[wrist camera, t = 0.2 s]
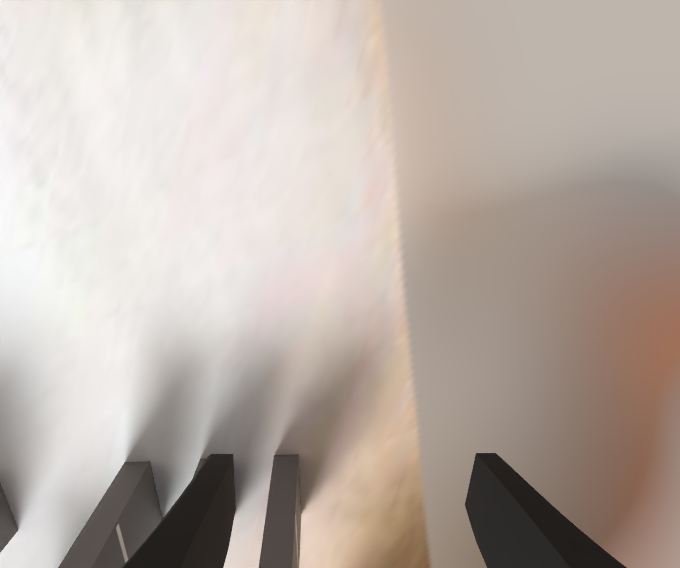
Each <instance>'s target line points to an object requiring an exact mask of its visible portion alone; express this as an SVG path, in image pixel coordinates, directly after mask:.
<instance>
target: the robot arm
mask: <svg viewBox="0 0 680 568" xmlns="http://www.w3.org/2000/svg"><path fill="white" fill-rule="evenodd" d="M465 506H466V510H467V513H468V516H469V520H470V523H471V526H472V529H473V532H474V536H475V539H476V542H477V544H478V547H479V549H480V552H481V554H482V556H483V558H484V561H485V563H486V566H487V568H626V567H625V566H624V565H622V564H621V563H620V562H618V561H617V560H616V559H615V558H613V557H612V556H611V555H610V554H608V553H607V552H606V551H604V550H603V549H602V548H601V547H600V546H599V545H597V544H596V543H595V542H594V541H592V540H591V539H590V538H589V537H588V536H587V535H585V534H584V533H583V532H582V531H580V530H579V529H578V528H577V527H576V526H575V525H574V524H572V523H571V522H570V521H569V520H568V519H567V518H566V517H564V516H563V515H562V514H561V513H560V512H559V511H558V510H557V509H555V508H554V507H553V506H552V505H551V504H550V503H549V502H548V501H547V500H546V499H545V498H543V497H542V496H541V495H540V494H539V493H538V492H537V491H536V490H535V489H534V488H533V487H532V486H530V485H529V484H528V483H527V482H526V481H525V480H524V479H523V478H522V477H521V476H520V475H519V474H518V473H517V472H515V471H514V470H513V469H512V468H511V467H510V466H509V465H508V464H507V463H506V462H505V461H503V459H502V458H500V457H499V456H498V455H497V454H496V453H477V454H476V456H475V461H474V465H473V470H472V475H471V479H470V484H469V489H468V494H467V498H466V503H465ZM234 514H235V488H234V467H233V454H211V455H210V456H209V457H207V459H206V460H205V462H204V463H203V465H202V466H201V468H200V469H199V471H198V472H197V474H196V475H195V477H194V478H193V479H192V481H191V482H190V484H189V485H188V486H187V488H186V489H185V490H184V492H183V493H182V495H181V496H180V497H179V499H178V500H177V501H176V502H175V504H174V505H173V506H172V508H171V509H170V510H169V511H168V513H167V514H166V515H165V517H164V518H163V519H162V520H161V522H160V523H159V524H158V525H157V527H156V528H155V529H154V530H153V531H152V533H151V534H150V535H149V536H148V537H147V539H146V540H145V541H144V542H143V543H142V544H141V546H140V547H139V548H138V549H137V550H136V551H135V553H134V554H133V555H132V556H131V557H130V558H129V560H128V561H127V562H126V563H125V564H124V565H123V566H122V567H121V568H223V566H224V563H225V559H226V555H227V551H228V547H229V542H230V537H231V531H232V525H233V520H234Z"/></svg>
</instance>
